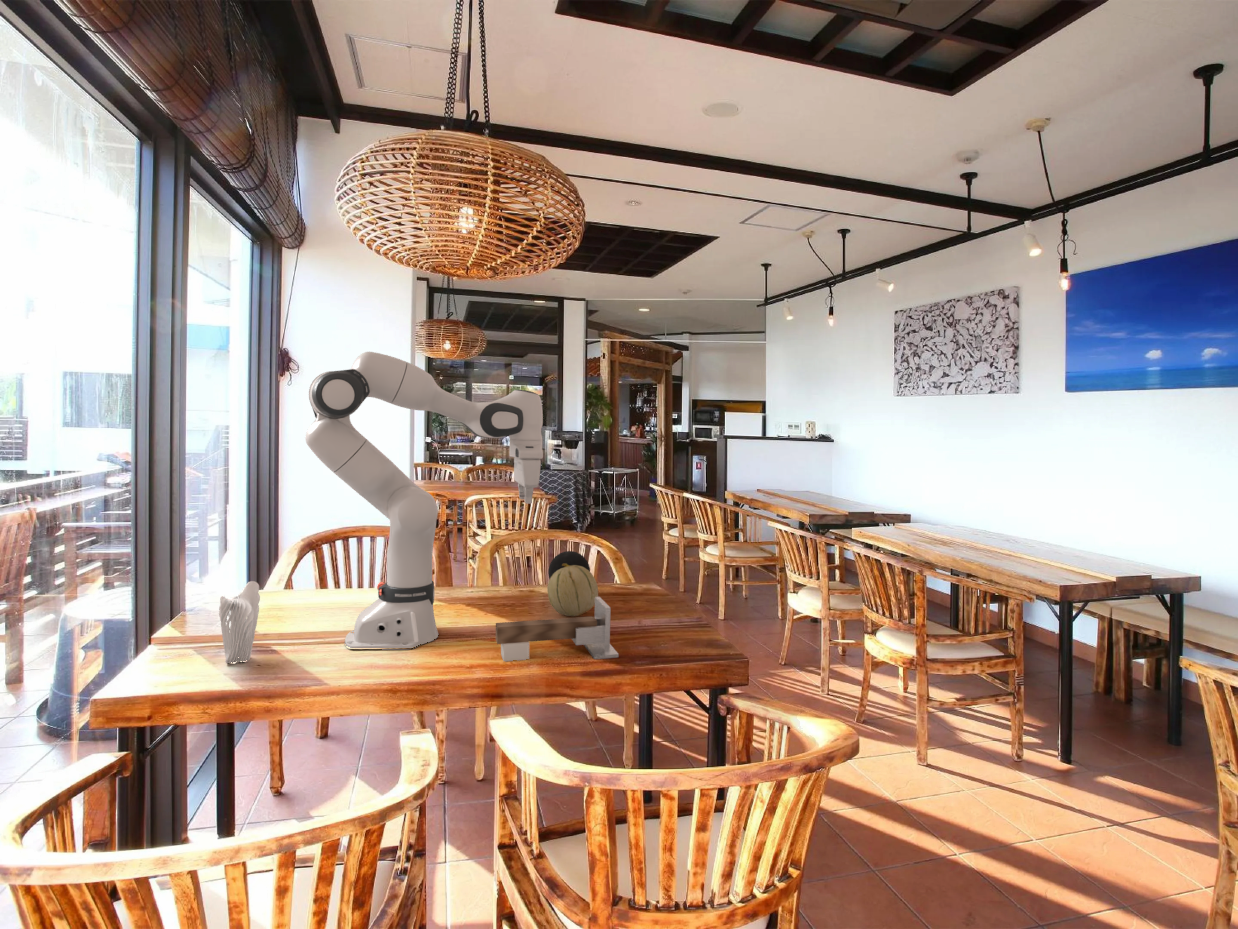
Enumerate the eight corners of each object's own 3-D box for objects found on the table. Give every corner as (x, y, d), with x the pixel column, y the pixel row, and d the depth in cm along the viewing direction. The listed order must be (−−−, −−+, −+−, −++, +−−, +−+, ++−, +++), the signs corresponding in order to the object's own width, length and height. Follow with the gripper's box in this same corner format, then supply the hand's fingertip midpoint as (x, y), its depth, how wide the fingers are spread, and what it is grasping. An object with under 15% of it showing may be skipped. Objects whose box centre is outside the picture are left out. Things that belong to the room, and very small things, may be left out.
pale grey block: (503, 661, 158) (503, 644, 158) (500, 654, 163) (501, 638, 162) (529, 659, 160) (529, 643, 159) (525, 652, 164) (526, 636, 164)
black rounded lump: (557, 606, 205) (558, 557, 204) (541, 595, 217) (542, 549, 216) (596, 601, 211) (597, 553, 210) (579, 591, 223) (580, 546, 222)
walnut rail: (497, 644, 158) (497, 627, 158) (495, 639, 161) (495, 622, 161) (596, 636, 165) (596, 620, 165) (592, 632, 168) (593, 616, 168)
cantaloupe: (596, 623, 188) (597, 570, 187) (543, 622, 189) (544, 569, 188) (599, 608, 203) (600, 559, 202) (550, 607, 203) (551, 558, 202)
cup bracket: (578, 660, 159) (579, 610, 159) (566, 644, 171) (567, 597, 170) (618, 657, 162) (619, 608, 162) (604, 641, 174) (606, 595, 173)
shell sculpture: (215, 670, 148) (213, 590, 147) (220, 658, 156) (219, 581, 155) (258, 666, 152) (256, 587, 150) (261, 654, 159) (260, 578, 158)
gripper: (508, 448, 192) (508, 496, 193) (520, 452, 173) (519, 506, 174) (531, 448, 194) (530, 496, 195) (544, 452, 175) (543, 505, 176)
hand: (525, 501), depth 184 cm, fingers open, 8 cm apart
